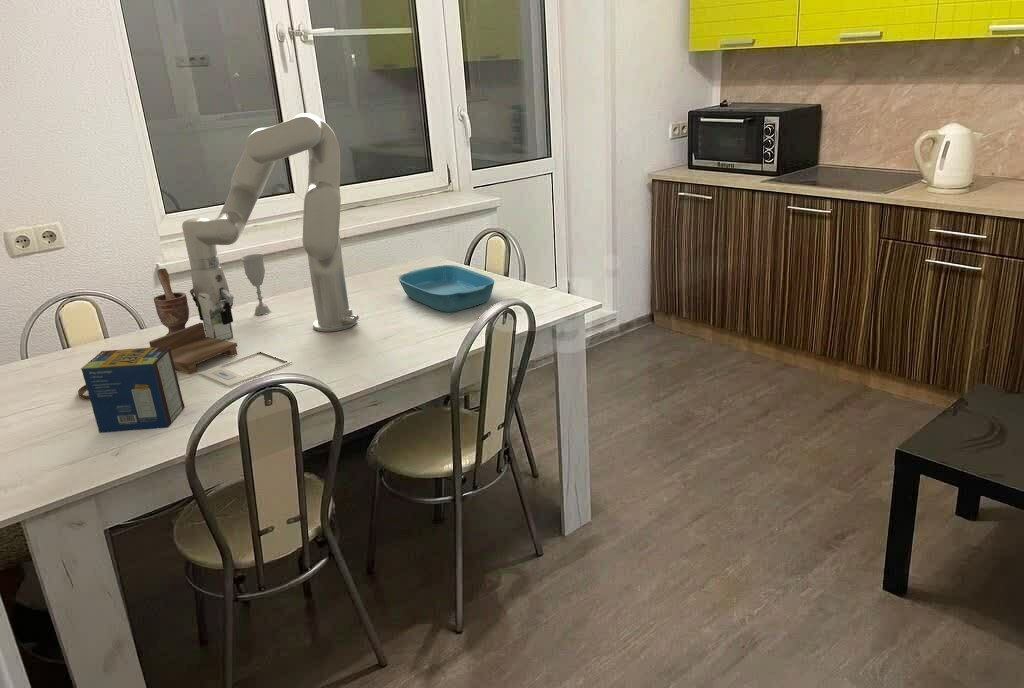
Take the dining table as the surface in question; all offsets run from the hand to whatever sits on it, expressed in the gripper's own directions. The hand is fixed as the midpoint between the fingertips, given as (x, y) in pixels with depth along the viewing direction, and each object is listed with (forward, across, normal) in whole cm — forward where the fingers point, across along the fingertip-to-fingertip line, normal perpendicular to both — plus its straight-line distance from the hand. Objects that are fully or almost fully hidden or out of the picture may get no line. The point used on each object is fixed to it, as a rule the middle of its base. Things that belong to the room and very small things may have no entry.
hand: (216, 321), depth 218 cm
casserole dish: (+6, -41, -56) cm, 69 cm away
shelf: (+5, -8, +14) cm, 17 cm away
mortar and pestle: (+6, +13, +5) cm, 15 cm away
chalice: (+6, +7, -22) cm, 24 cm away
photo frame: (+6, -26, +13) cm, 30 cm away
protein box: (+6, -28, +44) cm, 52 cm away
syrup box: (+6, 0, 0) cm, 6 cm away
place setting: (+6, -4, +34) cm, 34 cm away
